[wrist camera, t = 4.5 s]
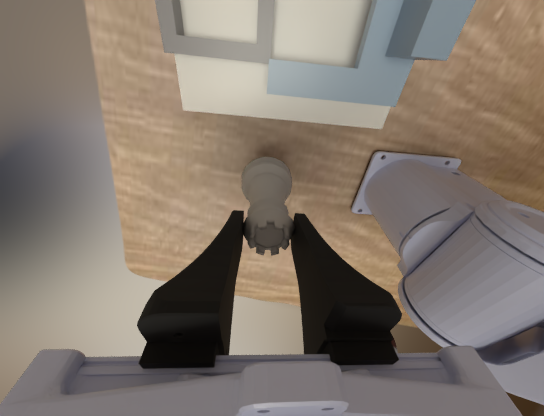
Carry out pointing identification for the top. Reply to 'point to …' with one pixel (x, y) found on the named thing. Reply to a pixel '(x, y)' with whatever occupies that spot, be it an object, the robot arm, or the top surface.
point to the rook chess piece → (267, 205)
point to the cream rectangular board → (263, 55)
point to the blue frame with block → (378, 53)
